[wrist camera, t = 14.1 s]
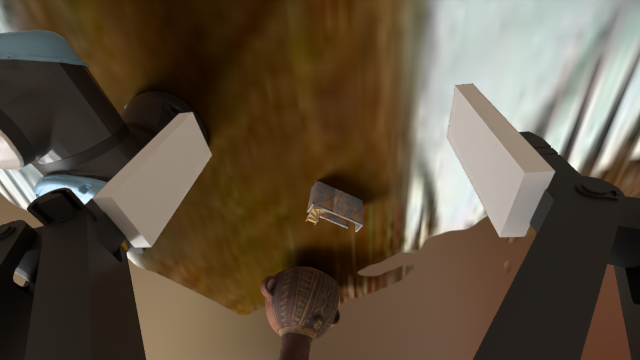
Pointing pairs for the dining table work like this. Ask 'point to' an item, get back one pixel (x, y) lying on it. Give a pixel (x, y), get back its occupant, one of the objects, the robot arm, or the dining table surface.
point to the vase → (300, 308)
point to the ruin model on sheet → (334, 206)
